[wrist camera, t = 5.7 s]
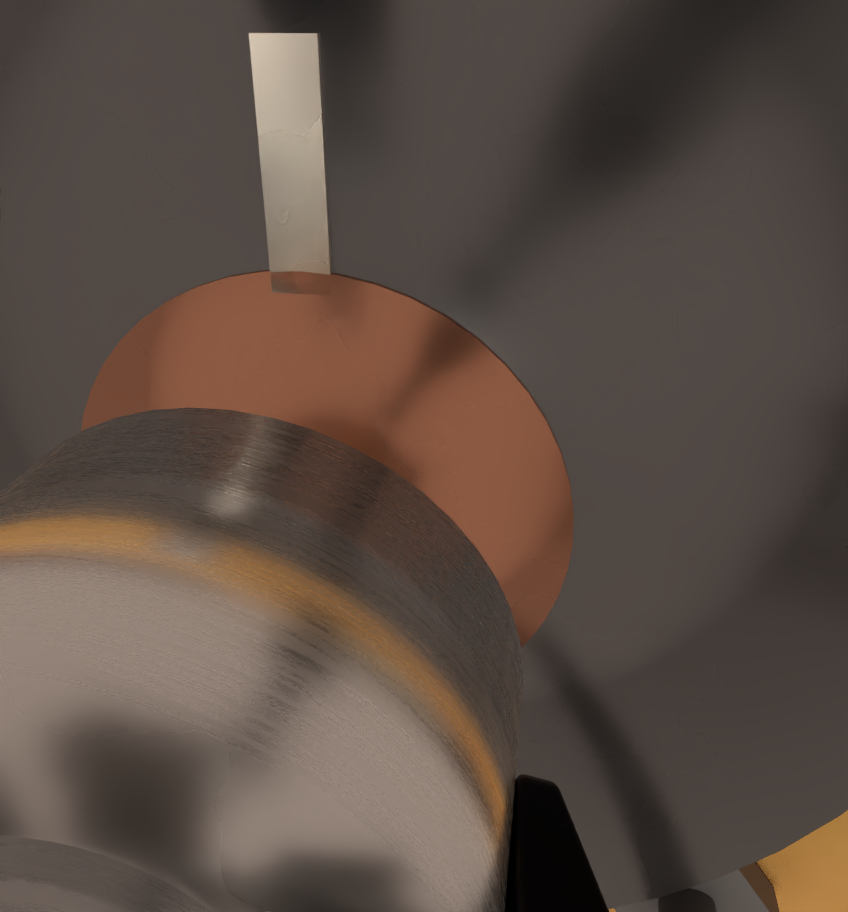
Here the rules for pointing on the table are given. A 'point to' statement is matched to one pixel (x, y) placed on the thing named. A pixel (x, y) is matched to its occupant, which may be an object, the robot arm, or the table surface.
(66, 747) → the cap
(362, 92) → the turntable
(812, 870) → the table surface
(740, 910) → the dial pointer
